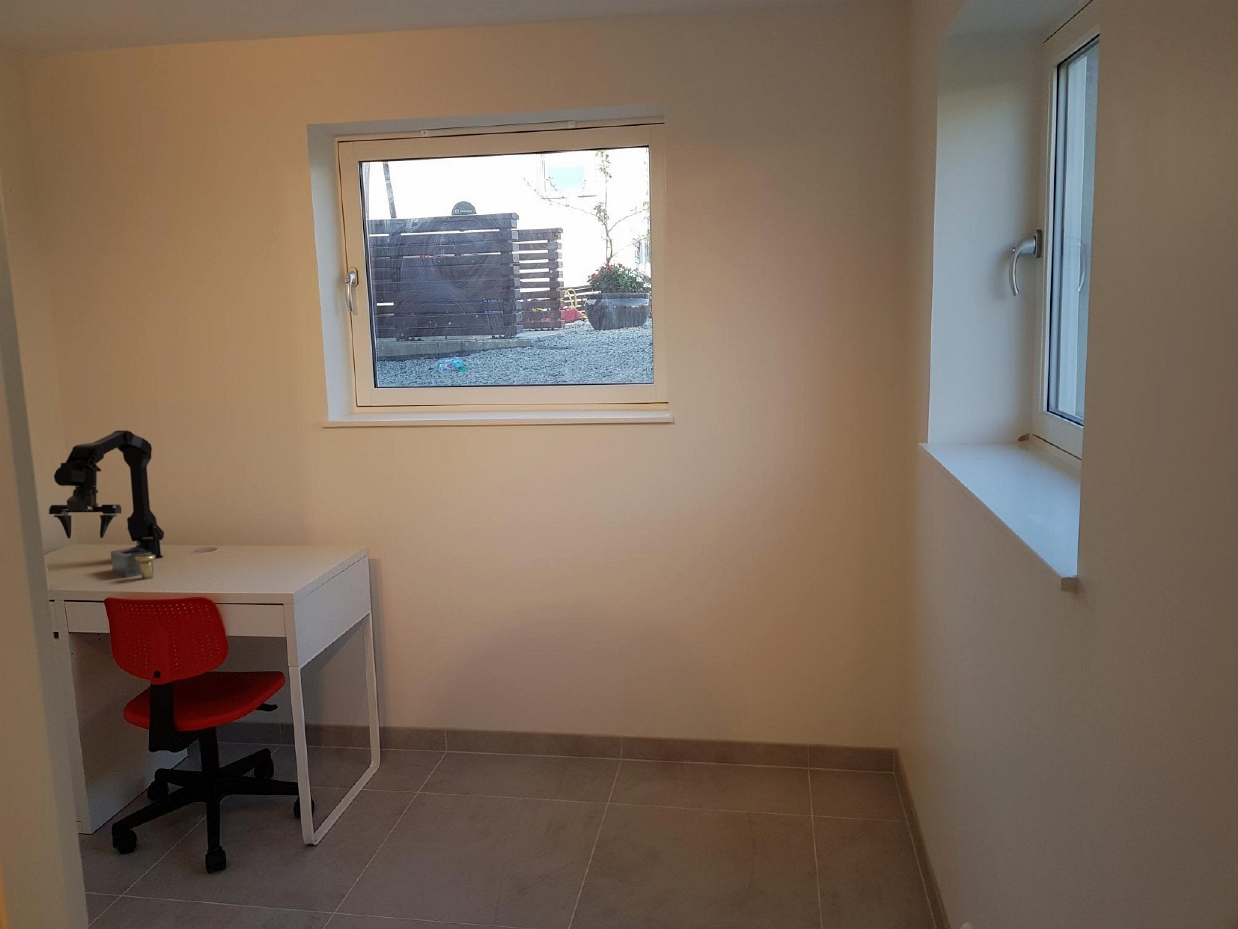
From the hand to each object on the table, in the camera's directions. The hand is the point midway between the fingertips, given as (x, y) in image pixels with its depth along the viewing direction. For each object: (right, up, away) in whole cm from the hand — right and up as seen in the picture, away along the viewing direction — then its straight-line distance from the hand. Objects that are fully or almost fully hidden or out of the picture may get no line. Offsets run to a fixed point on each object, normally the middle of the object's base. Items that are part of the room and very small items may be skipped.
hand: (85, 538), depth 298 cm
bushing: (+16, -13, +5) cm, 21 cm away
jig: (+8, -12, +13) cm, 19 cm away
